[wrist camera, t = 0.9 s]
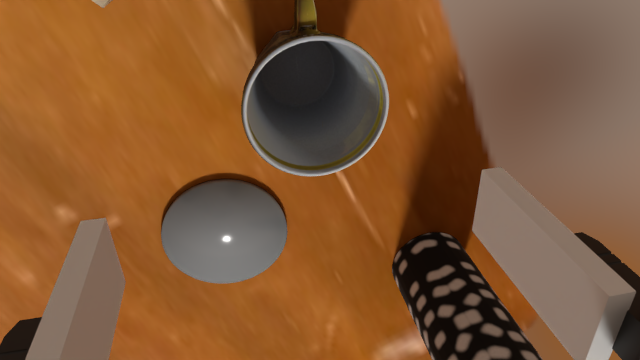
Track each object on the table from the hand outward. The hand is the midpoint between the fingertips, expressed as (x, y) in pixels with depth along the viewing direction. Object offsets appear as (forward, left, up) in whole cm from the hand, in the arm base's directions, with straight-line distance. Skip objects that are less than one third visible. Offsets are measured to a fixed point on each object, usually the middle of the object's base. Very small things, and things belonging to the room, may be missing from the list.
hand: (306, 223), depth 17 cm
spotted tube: (+30, -7, -26) cm, 40 cm away
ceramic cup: (+3, +2, -26) cm, 26 cm away
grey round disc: (+9, -16, -26) cm, 32 cm away
